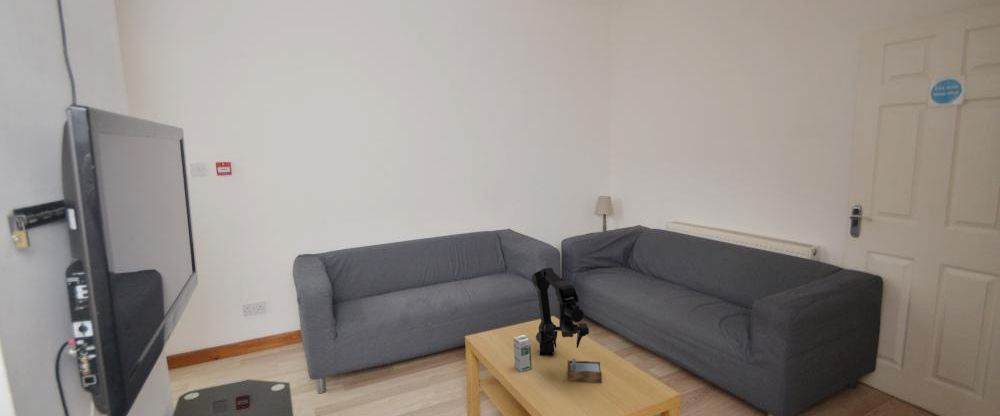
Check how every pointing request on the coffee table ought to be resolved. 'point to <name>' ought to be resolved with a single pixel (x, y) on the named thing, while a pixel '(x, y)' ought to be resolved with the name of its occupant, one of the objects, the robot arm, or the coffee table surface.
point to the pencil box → (584, 373)
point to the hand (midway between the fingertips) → (566, 347)
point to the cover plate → (584, 366)
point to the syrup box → (522, 353)
